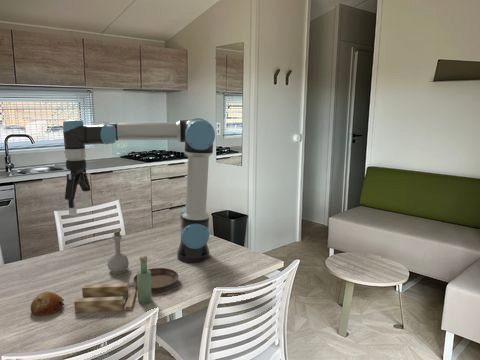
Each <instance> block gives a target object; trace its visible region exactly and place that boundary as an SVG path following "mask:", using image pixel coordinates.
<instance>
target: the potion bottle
mask: <svg viewBox="0 0 480 360" xmlns="http://www.w3.org/2000/svg"><path fill="white" fill-rule="evenodd" d="M122 237H123V236H122V234H121V230H116V231H114V232H113V235H112V240H113V241H114V250H115V252H114V253H112V254H111V255H110V257H109V259H107V268H108V270H109V271H110V273H111V274H114V275H121V274H124V273H126V272H127V269H128V268H129V265H130V263H129V259H128V258H129V257H128V256H127V255H126V253H123V252H121V239H122Z"/></svg>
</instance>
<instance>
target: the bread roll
mask: <svg viewBox="0 0 480 360" xmlns="http://www.w3.org/2000/svg"><path fill="white" fill-rule="evenodd" d="M63 306H65V303H64V299H63V297H62V296H61V295H58V294H57V293H54V292H51V291H44V292H41V293H39V294H38V295H36V297H35V298H34V299H32V301H31V304H30V312H31V314H32V315H34V316H36V317H43V316H45V317H46V316H50V315H53V314H56V313H58V312H60V311H61V310H62V308H63Z"/></svg>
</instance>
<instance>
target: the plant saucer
mask: <svg viewBox="0 0 480 360" xmlns="http://www.w3.org/2000/svg"><path fill="white" fill-rule="evenodd" d="M147 270H150V271H151V285H152V293H153V292H161V291H165V290H169V289H170V288H172V287H173V286H174V285H175V284H176V283H177V282H178V279H179V277H180V276H179V274H178V272H177V271H176V270H173V269H171V268H168V267H167V268H166V267H155V268H147ZM132 281H133V283H134V284H135V285H136V286H137V274H135V276H134V277H133V280H132Z"/></svg>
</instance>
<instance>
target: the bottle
mask: <svg viewBox="0 0 480 360" xmlns="http://www.w3.org/2000/svg"><path fill="white" fill-rule="evenodd" d="M139 261H140V270H138V271H137V272H136V275H137V285H136V287H137V302H138V303H139V304H142V305H147V304H150V303H151V302H152V301H153V292H152V285H151V271H150V270H148V262H147V261H148V256H146V255H141V256H140V257H139Z"/></svg>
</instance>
